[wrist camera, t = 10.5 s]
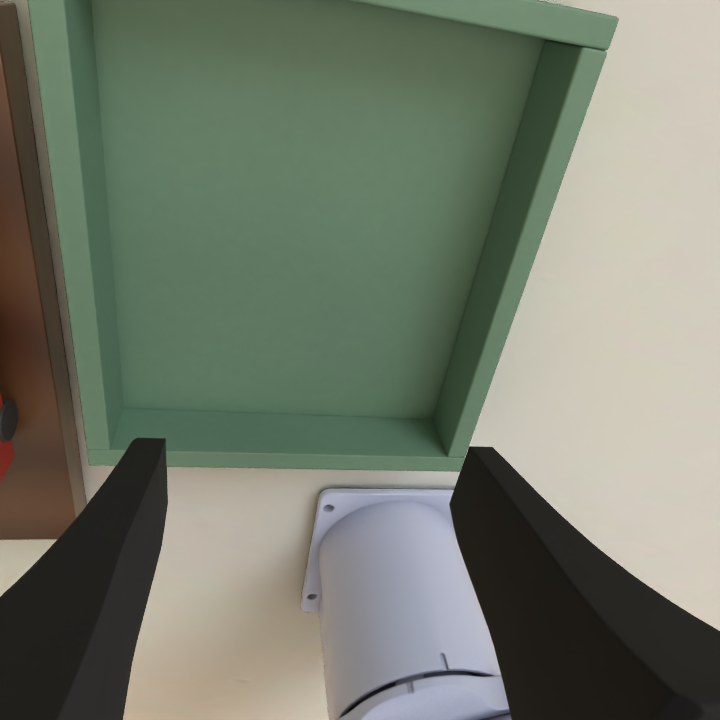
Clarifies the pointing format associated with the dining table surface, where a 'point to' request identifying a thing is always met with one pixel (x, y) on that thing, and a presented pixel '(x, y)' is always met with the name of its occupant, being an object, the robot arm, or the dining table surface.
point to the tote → (302, 215)
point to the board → (31, 327)
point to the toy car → (7, 433)
